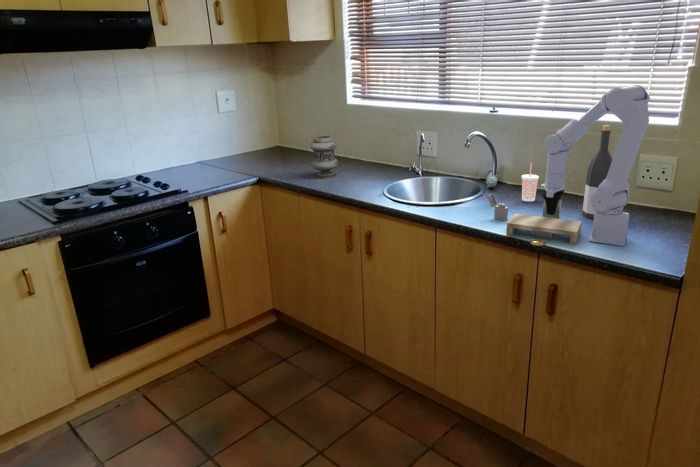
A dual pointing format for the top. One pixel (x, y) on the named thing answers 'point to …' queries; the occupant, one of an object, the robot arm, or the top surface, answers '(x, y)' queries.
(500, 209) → the lighter
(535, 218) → the oak shelf
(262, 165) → the top surface
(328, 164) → the apothecary jar
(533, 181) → the beverage cup
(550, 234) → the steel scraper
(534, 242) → the brass token
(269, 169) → the top surface
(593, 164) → the wine bottle
